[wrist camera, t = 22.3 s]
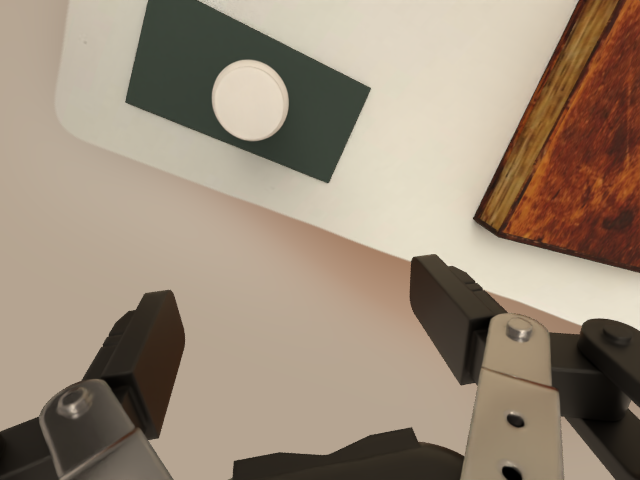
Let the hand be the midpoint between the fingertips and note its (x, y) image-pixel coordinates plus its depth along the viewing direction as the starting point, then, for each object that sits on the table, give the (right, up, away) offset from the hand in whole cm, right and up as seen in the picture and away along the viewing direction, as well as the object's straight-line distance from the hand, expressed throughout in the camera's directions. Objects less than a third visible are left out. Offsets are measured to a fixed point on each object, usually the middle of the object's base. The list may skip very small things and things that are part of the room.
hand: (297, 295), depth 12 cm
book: (+36, +12, +30) cm, 48 cm away
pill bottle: (-5, +15, +21) cm, 26 cm away
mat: (-5, +15, +21) cm, 27 cm away
